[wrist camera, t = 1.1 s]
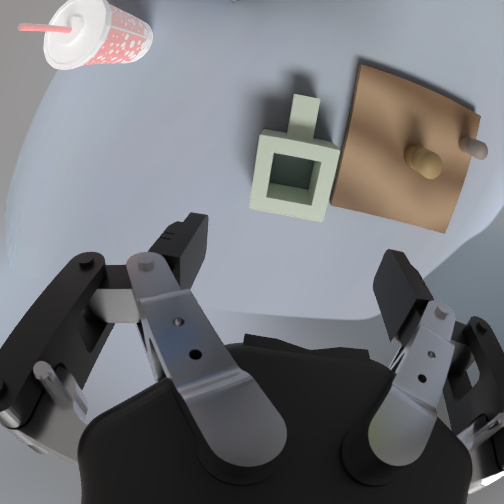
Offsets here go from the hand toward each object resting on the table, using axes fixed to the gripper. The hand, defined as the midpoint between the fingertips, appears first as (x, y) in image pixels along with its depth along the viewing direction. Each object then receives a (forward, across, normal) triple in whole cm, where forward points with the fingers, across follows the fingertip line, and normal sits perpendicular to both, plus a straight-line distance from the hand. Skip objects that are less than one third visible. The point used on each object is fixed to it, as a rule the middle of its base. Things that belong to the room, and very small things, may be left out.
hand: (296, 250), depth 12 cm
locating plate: (+14, -10, -4) cm, 18 cm away
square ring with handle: (+14, 0, -2) cm, 14 cm away
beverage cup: (+14, +16, -11) cm, 25 cm away
